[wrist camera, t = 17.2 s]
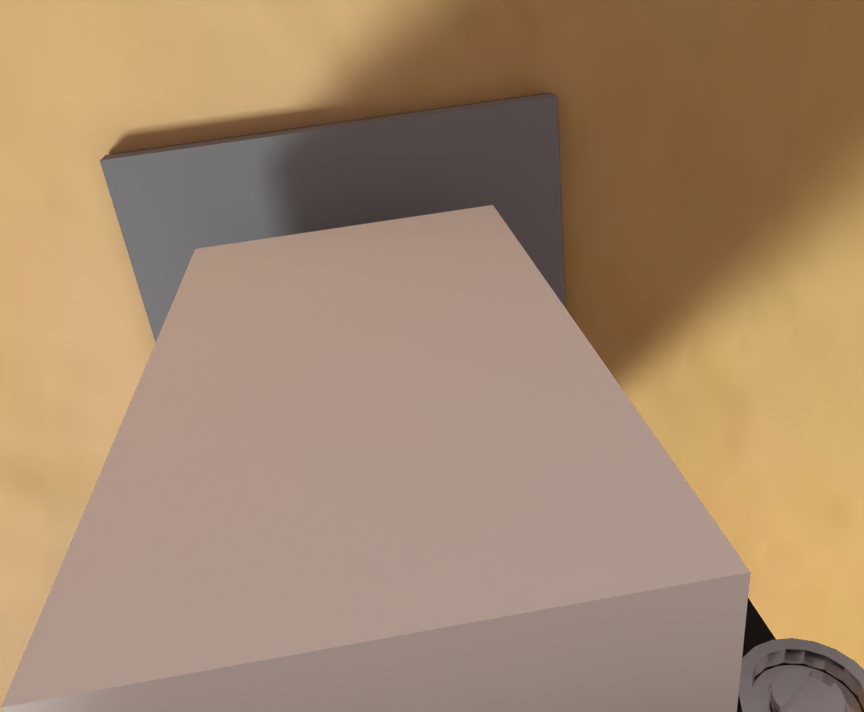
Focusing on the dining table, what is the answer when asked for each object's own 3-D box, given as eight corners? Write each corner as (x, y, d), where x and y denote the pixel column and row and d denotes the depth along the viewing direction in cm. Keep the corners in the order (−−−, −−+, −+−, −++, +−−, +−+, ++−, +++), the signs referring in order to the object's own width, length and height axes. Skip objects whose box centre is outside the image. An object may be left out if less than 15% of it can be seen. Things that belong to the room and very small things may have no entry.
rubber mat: (551, 93, 14) (556, 96, 14) (569, 524, 19) (573, 535, 19) (105, 155, 14) (99, 160, 14) (234, 583, 18) (233, 595, 18)
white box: (493, 204, 13) (751, 572, 5) (518, 528, 17) (703, 1057, 9) (195, 248, 13) (1, 708, 5) (280, 570, 16) (242, 1158, 8)
